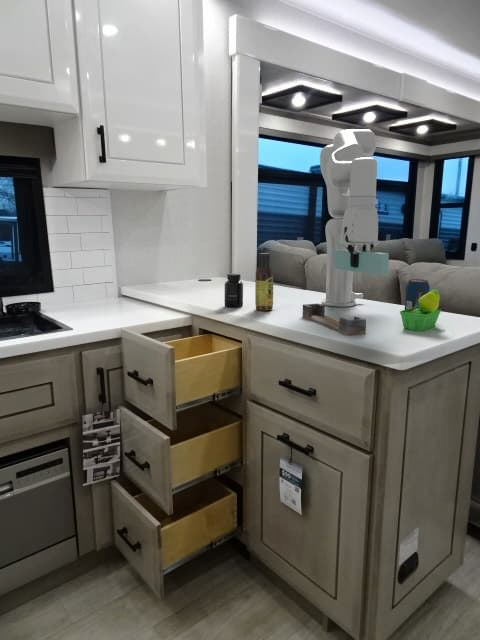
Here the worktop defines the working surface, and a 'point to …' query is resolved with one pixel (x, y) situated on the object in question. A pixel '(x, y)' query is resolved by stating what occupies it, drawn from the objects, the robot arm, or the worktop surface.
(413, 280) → the soda can
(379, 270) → the slat
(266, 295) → the sauce bottle
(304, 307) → the endcap rail
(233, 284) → the supplement bottle
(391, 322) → the worktop surface
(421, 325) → the fruit basket
